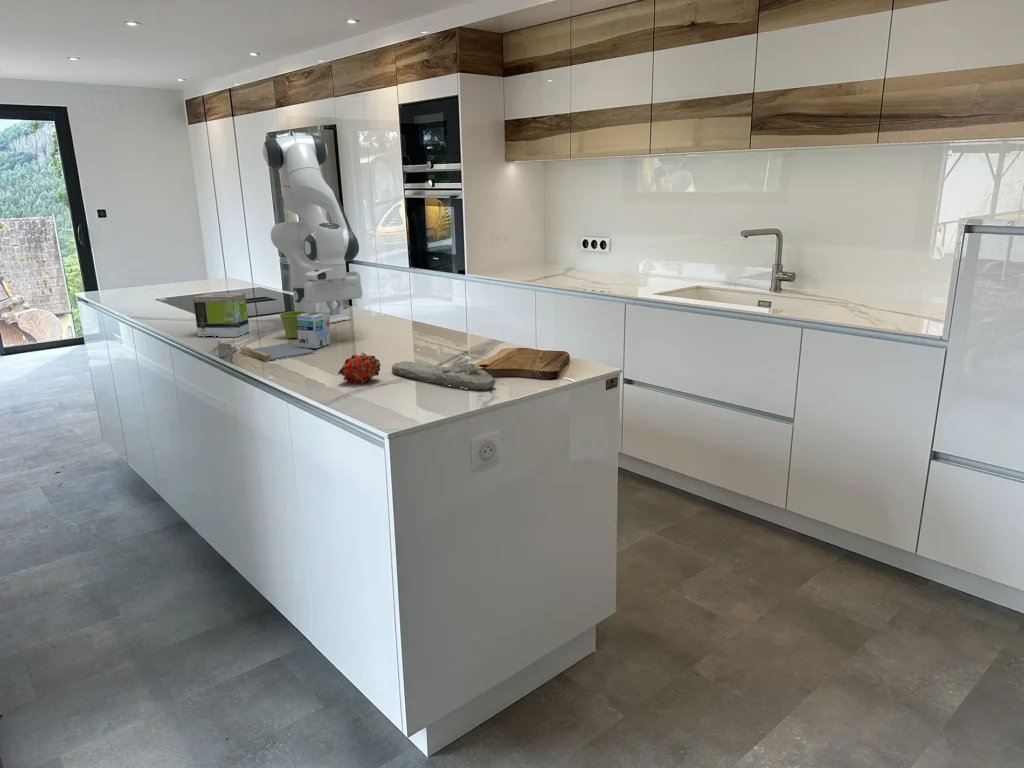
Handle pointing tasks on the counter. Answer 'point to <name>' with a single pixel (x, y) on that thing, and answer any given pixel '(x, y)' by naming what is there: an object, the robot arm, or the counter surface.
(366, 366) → the dragon fruit
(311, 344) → the light bulb box
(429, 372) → the elongated rock
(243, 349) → the strip
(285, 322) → the plant pot
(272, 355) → the mat
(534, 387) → the counter surface
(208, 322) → the tea box
